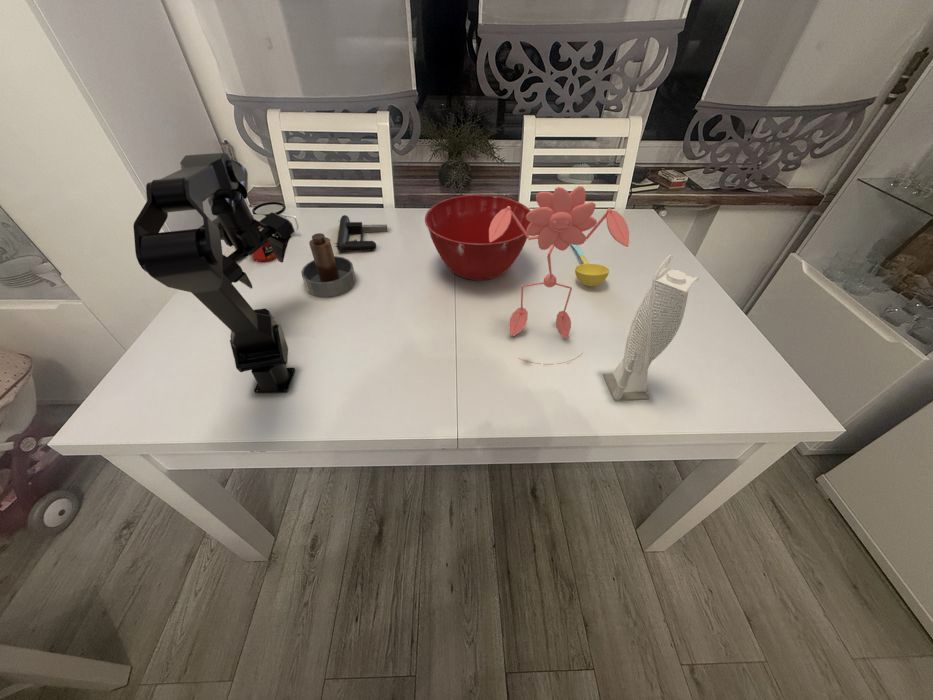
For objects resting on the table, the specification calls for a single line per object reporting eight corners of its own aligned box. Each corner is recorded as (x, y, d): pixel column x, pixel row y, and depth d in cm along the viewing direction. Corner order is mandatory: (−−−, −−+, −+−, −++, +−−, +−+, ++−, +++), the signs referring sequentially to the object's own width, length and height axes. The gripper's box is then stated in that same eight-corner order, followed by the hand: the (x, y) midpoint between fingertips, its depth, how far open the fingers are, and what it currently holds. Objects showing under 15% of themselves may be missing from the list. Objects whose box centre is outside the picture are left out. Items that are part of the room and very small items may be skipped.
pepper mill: (342, 277, 106) (331, 231, 97) (337, 288, 103) (324, 241, 93) (325, 276, 107) (311, 230, 97) (318, 287, 103) (304, 240, 94)
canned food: (272, 263, 112) (258, 227, 104) (246, 260, 113) (231, 224, 105) (286, 250, 117) (273, 215, 110) (262, 247, 118) (248, 212, 111)
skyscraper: (600, 370, 83) (643, 252, 63) (637, 368, 83) (691, 251, 64) (614, 401, 77) (666, 282, 57) (653, 399, 77) (718, 280, 58)
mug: (258, 243, 120) (246, 215, 114) (268, 228, 127) (258, 201, 121) (297, 243, 120) (288, 215, 114) (305, 228, 127) (297, 201, 121)
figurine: (485, 316, 95) (493, 167, 71) (592, 325, 93) (638, 175, 69) (479, 361, 84) (486, 203, 60) (600, 372, 82) (658, 213, 58)
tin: (351, 297, 101) (348, 282, 97) (300, 298, 100) (295, 283, 97) (359, 269, 110) (356, 255, 107) (312, 270, 109) (308, 256, 106)
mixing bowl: (414, 288, 104) (409, 234, 93) (444, 237, 124) (442, 188, 113) (519, 304, 99) (526, 250, 88) (532, 249, 119) (539, 199, 108)
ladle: (577, 291, 102) (580, 270, 99) (556, 259, 124) (557, 241, 121) (611, 290, 102) (615, 269, 99) (584, 258, 124) (586, 240, 121)
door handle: (386, 214, 130) (336, 214, 127) (387, 243, 116) (331, 245, 113) (387, 223, 132) (338, 224, 130) (388, 253, 118) (333, 255, 115)
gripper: (242, 177, 80) (269, 235, 94) (163, 229, 71) (205, 285, 85) (283, 198, 78) (305, 254, 91) (208, 254, 69) (244, 308, 82)
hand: (265, 274), depth 87 cm, fingers open, 9 cm apart
